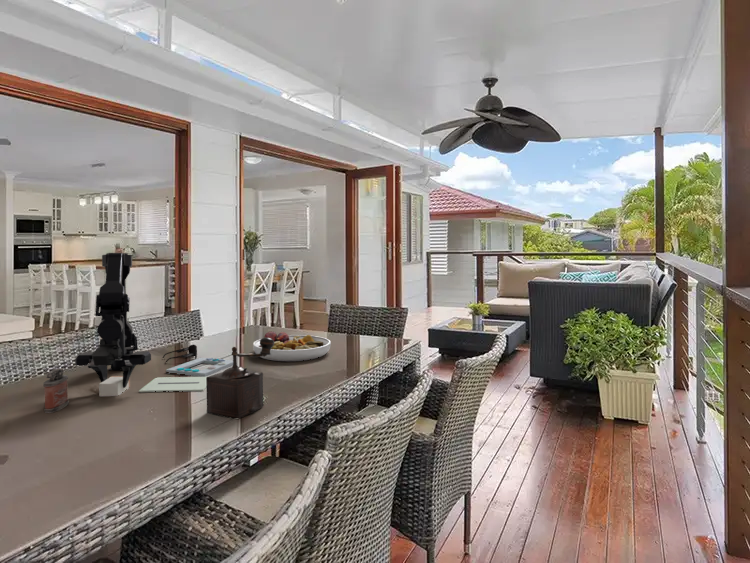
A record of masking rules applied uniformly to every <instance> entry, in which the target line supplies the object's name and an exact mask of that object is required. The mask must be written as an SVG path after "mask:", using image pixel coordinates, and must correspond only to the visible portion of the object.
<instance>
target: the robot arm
mask: <svg viewBox="0 0 750 563" xmlns="http://www.w3.org/2000/svg"><path fill="white" fill-rule="evenodd" d="M101 266H102V268H105V270H104V271H105V283H104V284H102V285H101V286H100V287H99V292H98V294H96V300H95V301H96V302H95V313H94V314H95V317H101V321H100V323H99V324H98V325H97V326H98V327H97V329H96V330H97V331H96V332H97V335H98V336H99V344H98V347H96V349H95V350H94V351H84V352H82V353H80V354H78V355H77V356H76V357H75V359H74V362H75V364H74V365H75V366H87V368H88V369H92V370H93V371H94V372H95V373H96V375H97V377H98V378H99V381H100V383H102V382H103V381H105V380H106V379H108V371H110V370H113V371H122V376H123V388H125V387H126V386H127V383H128V381H129V378H130V377H131V375H132V373H133V371H134V369H135V367H136V366H137V365H138V366H140V365H141V366H144V365H146V364H148V363H149V362H150V361H152V354H151V352H150V351H149V350H145V351H144V350H139V351H137V350H138V346H139V345H138V337H137V336H136V333H135V332H133V326H132V325H131V324H130V323H129V321H128V313H130V297H129V295H128V293H127V285H126V284H127V283H126V280H127V278H128V276H129V275H130V272H131V268H133V257H132V254H129V253H127V252H107V253H106V254H102V255H101ZM100 338H101V339H100ZM108 366H110V367H109V368H108ZM130 379H131V378H130Z"/></svg>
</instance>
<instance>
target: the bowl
mask: <svg viewBox="0 0 750 563" xmlns="http://www.w3.org/2000/svg"><path fill="white" fill-rule="evenodd" d="M264 337H267V338H271V339H273V340H274V346H273V347H272V348H271V350H270V353H271V355H267V356H265V357H264V356H260V357H259V358H262V359H264V360H269V361H275V362H300V361H302V362H303V360H304V361H308V360H310V359H311V360H314V359H319V358H321V357H323V356H325V355H326V354H327V353H328V352H329V350H330V349H331V340H330V339H328V338H326V337H322V336H315V335H311V334H307V335H306V334H305V335H301V334H299V335H298V334H291V335H288V334H287V332H285V331H283V332H282V331H281V332H279V333H278V334H277V333H276V332H275V331H268V332H266V333H265V334H264V336H263V338H264ZM261 339H262V338H260V339H257V340H254V341H253V343H252V349H253V351H254V354H260V352H261V350H262V347H261V345H260V340H261ZM318 357H319V358H318Z"/></svg>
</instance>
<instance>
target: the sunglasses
mask: <svg viewBox="0 0 750 563" xmlns="http://www.w3.org/2000/svg"><path fill="white" fill-rule="evenodd" d="M186 351H188V353H186V354H182V355H177V356H173V357H169V358H167V359H166V361H165V362H167V363H168V361H169V360H171V359H176V358H183V359H184V358H185V359H186V358H189V357H192V356H195V357H194V360H195V359H198V347H197V345H196V344H190V345H188V346H187V347H184V348H183V347H182V348H180V349H177V350H172V351H170V352H166V353H164V355H163V357H162V358H164V359H165V357H166V355H168V354H172V353H178V354H179V353H183V352H186Z"/></svg>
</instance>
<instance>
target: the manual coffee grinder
mask: <svg viewBox="0 0 750 563" xmlns="http://www.w3.org/2000/svg"><path fill="white" fill-rule="evenodd" d="M260 339H261V340H260V345H261V347H262V350H261V352H260V354H256V353H238V347H236V346H232V348H231V351H232V352H231V356H232V360H233V366H230V367H228V368H225V369H224V370H222V372H221V371H220V372H217V373H214V374H211V375H209V376H206V377H207V378H206V385H207V387H206V413H207V414H210V415H214V416H220V417H223V416H225V418H229V417H231V418H230V419H234V418H239V419H242V418H244V417H246V416H248V414H249V415H251V414H252V413H255V412H256V411H258V410H260V409H261V408H263V407H264V406H265V405H264V374H263V372H260V371H254V370H248V368H247V367H245V368H244V366H238V364H237V360H238V359H237V357H239V358H243V357H244V358H245V357H250V358H261V357H260V356H264V357H265V356H267V355H271V353H270V350H271V348H272V347H273V346H274V340H273V339H271V338H267V337H264V336H263V338H260ZM243 416H244V417H243ZM241 417H242V418H241Z"/></svg>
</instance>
